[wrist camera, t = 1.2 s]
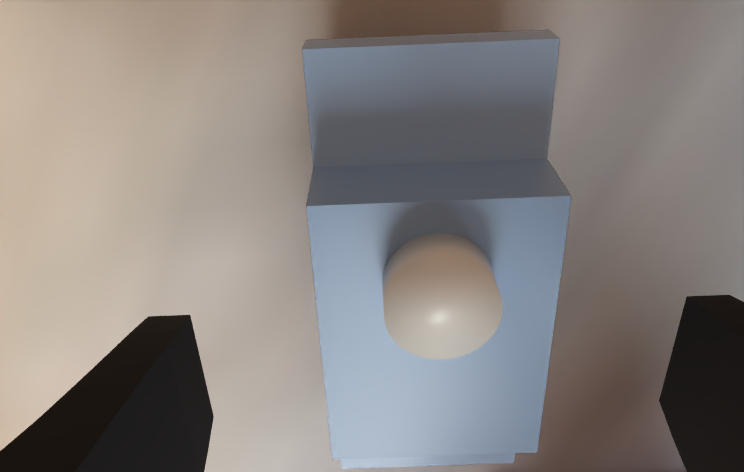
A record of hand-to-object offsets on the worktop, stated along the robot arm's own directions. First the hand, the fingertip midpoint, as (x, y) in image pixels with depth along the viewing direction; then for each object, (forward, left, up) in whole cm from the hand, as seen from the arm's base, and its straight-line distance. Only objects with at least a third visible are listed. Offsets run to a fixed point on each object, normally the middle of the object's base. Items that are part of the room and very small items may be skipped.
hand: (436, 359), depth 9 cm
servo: (0, 0, -5) cm, 5 cm away
